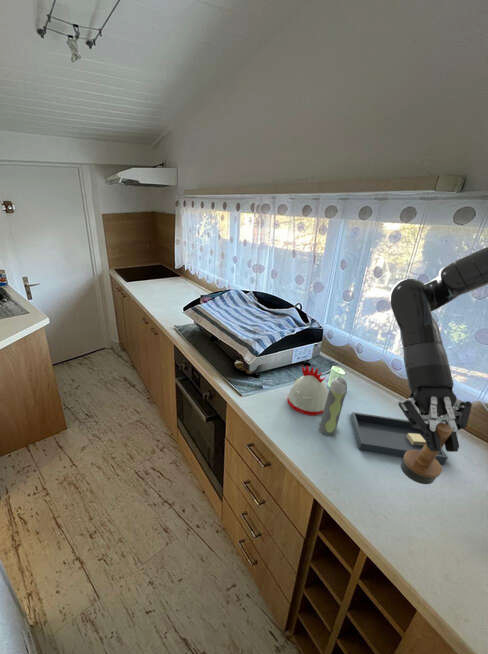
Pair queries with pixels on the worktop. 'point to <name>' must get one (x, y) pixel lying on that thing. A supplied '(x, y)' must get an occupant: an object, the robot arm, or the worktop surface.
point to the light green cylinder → (335, 374)
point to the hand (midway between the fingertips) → (443, 450)
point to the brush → (425, 459)
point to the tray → (386, 435)
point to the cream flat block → (416, 439)
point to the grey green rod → (333, 407)
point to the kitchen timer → (308, 393)
